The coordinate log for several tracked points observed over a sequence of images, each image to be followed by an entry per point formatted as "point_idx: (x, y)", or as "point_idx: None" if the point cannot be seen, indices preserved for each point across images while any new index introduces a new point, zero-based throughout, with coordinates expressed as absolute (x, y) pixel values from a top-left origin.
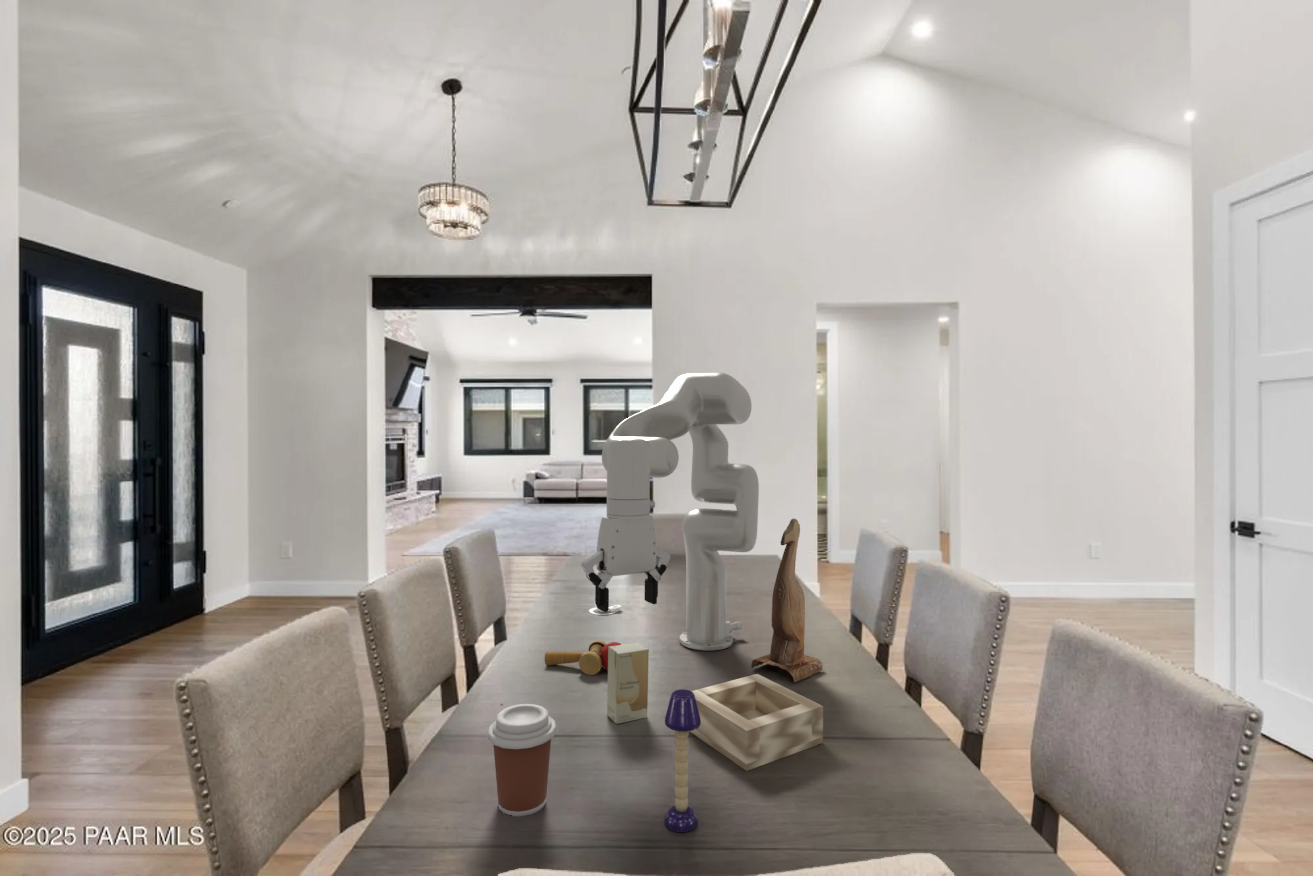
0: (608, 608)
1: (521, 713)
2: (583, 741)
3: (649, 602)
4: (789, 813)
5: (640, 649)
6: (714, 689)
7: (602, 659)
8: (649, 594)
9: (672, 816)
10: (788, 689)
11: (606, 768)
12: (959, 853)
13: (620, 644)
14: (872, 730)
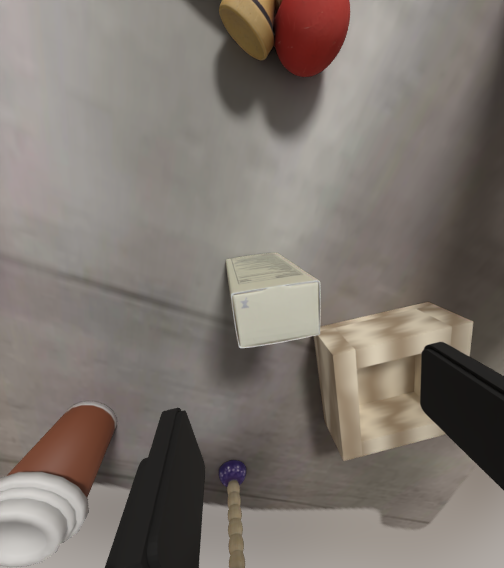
0: (203, 478)
1: (13, 529)
2: (175, 323)
3: (423, 375)
4: (319, 474)
5: (301, 332)
6: (378, 355)
7: (276, 38)
8: (455, 411)
9: (223, 484)
10: None
11: (190, 386)
12: (387, 518)
13: (338, 11)
14: None
